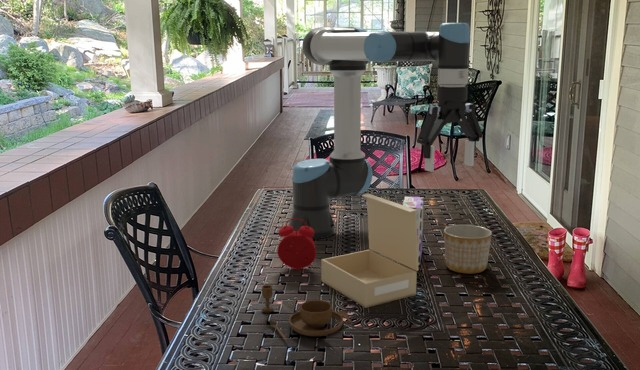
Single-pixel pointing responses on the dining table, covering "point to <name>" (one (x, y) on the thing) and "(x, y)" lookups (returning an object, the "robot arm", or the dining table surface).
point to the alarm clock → (296, 246)
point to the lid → (393, 230)
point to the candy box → (417, 205)
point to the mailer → (368, 278)
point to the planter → (467, 248)
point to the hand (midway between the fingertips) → (449, 168)
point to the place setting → (308, 316)
